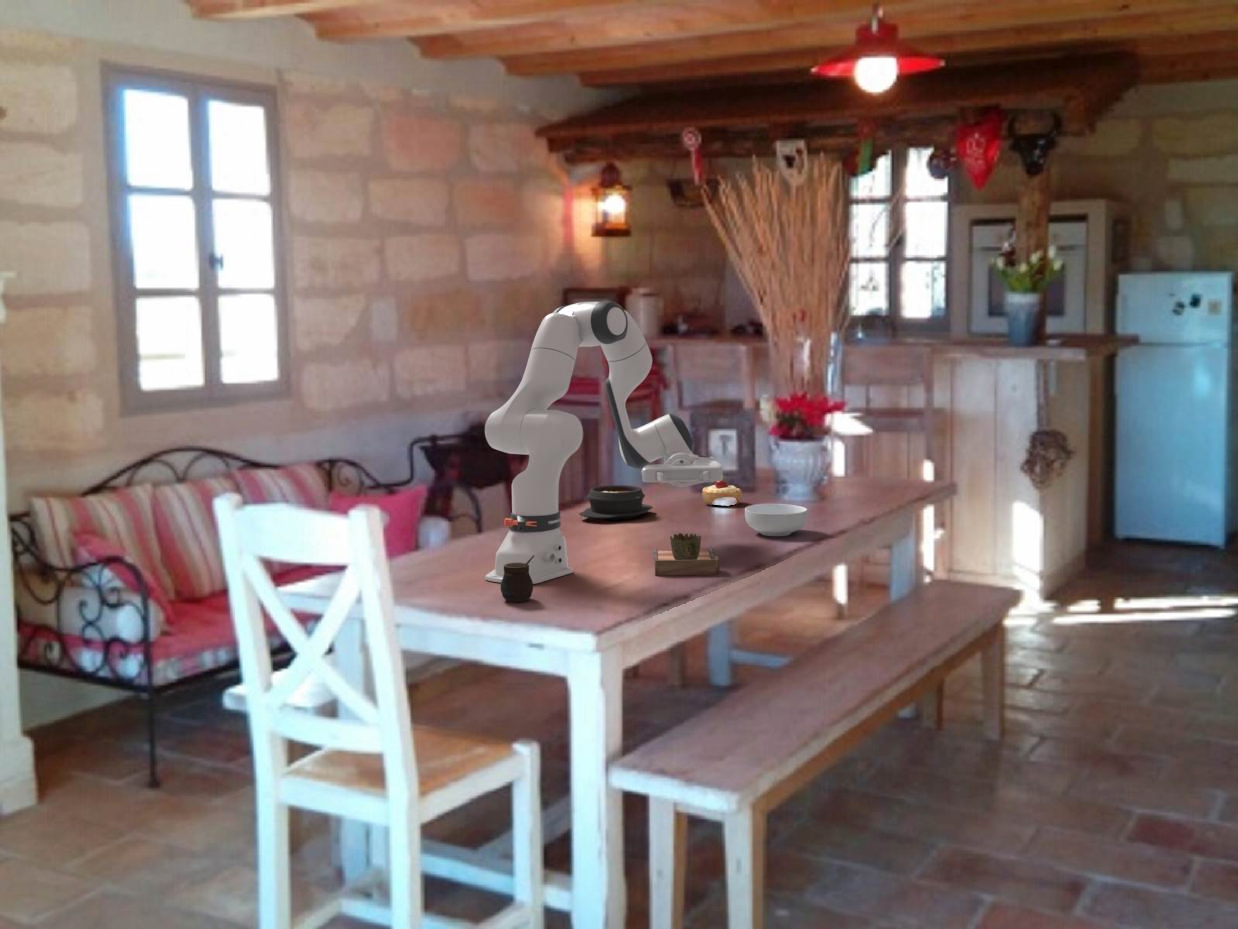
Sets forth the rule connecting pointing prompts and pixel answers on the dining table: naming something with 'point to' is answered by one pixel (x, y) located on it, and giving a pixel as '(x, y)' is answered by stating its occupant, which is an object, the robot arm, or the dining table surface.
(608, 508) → the casserole
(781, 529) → the cereal bowl
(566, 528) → the dining table surface
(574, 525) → the dining table surface
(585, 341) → the robot arm
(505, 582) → the mate gourd
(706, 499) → the pastry
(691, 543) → the cup
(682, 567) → the brown wooden tray
